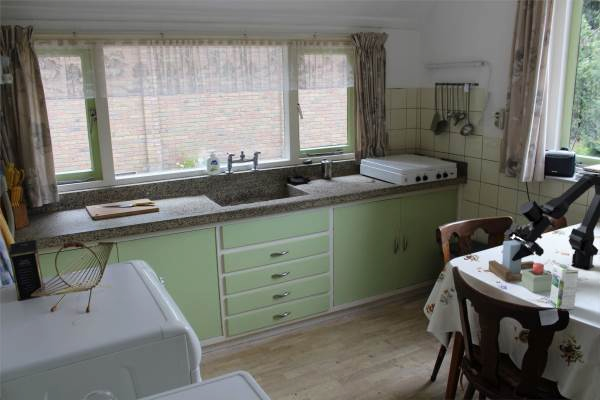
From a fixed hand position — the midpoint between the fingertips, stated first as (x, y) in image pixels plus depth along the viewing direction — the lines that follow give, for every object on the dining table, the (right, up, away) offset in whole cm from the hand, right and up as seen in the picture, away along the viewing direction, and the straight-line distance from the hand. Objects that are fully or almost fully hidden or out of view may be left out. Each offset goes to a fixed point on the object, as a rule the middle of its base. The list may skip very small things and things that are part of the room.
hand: (508, 258), depth 202 cm
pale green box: (+6, -10, -11) cm, 16 cm away
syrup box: (+7, -14, -26) cm, 31 cm away
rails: (+6, -6, +3) cm, 9 cm away
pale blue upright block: (+2, -6, +2) cm, 7 cm away
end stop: (-3, -7, +1) cm, 8 cm away
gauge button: (+6, -4, -13) cm, 14 cm away
